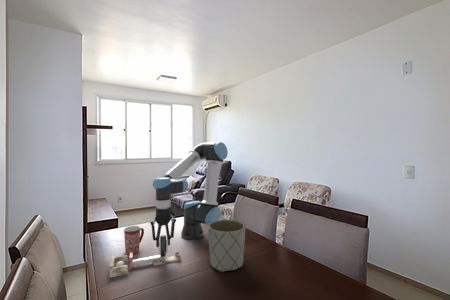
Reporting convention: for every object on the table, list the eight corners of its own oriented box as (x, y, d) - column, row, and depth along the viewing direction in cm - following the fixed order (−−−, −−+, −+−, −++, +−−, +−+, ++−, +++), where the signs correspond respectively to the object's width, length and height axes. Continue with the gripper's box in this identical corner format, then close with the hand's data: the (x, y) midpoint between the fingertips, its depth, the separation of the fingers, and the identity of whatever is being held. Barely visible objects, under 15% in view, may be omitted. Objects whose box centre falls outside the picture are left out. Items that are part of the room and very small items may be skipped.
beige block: (127, 262, 119) (127, 253, 119) (127, 274, 108) (127, 263, 108) (111, 265, 116) (111, 255, 116) (109, 277, 105) (109, 266, 105)
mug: (130, 256, 126) (131, 232, 126) (120, 253, 131) (120, 229, 131) (148, 248, 137) (148, 225, 137) (138, 245, 142) (138, 223, 142)
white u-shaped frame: (165, 258, 124) (165, 234, 124) (166, 263, 118) (167, 238, 118) (129, 264, 117) (129, 238, 117) (129, 270, 112) (129, 243, 111)
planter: (218, 278, 106) (218, 234, 106) (202, 260, 122) (202, 222, 122) (252, 268, 114) (252, 228, 114) (233, 252, 131) (233, 217, 131)
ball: (116, 268, 114) (125, 266, 115) (115, 272, 110) (124, 270, 112) (115, 260, 114) (124, 258, 115) (114, 264, 110) (124, 262, 111)
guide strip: (178, 256, 126) (179, 251, 126) (180, 260, 122) (180, 254, 122) (152, 261, 121) (152, 255, 121) (153, 265, 117) (153, 259, 117)
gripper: (177, 204, 127) (177, 246, 127) (146, 207, 121) (146, 251, 121) (180, 207, 120) (179, 252, 120) (147, 210, 114) (147, 258, 114)
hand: (163, 252), depth 121 cm, fingers closed on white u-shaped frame, 3 cm apart
